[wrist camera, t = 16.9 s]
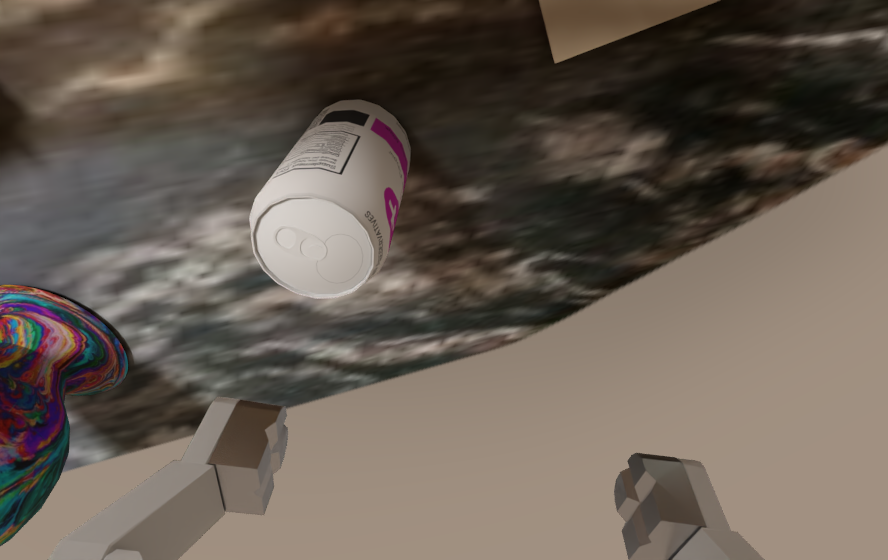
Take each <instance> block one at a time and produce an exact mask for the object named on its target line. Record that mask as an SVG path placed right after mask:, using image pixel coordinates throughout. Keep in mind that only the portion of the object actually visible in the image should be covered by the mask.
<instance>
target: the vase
mask: <svg viewBox="0 0 888 560" xmlns="http://www.w3.org/2000/svg"><path fill="white" fill-rule="evenodd" d="M127 371H128V360H127V356H126V353H125V351H124V349H123V347H122V345H121V343H120V342H119V340H118V339H117V338H116V336H115V335H114V334H113V333H112V332H111V331H110V330H109V328H108V327H107V326H105V325H104V324H103V323H102V322H101V321H100V320H99V319H97V318H96V317H95V316H93V315H92V314H91V313H89V312H88V311H86V310H85V309H83V308H81V307H80V306H78V305H76V304H74V303H73V302H71V301H69V300H66V299H64V298H62V297H60V296H57V295H55V294H52V293H49V292H46V291H43V290H40V289H36V288H31V287H26V286H19V285H0V546H1V545H3V544H4V543H6V542H7V541H9V540H10V539H11V538H12V537H13V536H14V535H15V534H16V533H17V532H18V531H19V530H20V529H21V528H22V527H23V526H24V525H25V524H26V523H27V522H28V521H29V520H30V519H31V518H32V517H33V516H34V515H35V514H36V513H37V512H38V511H39V510H40V509H41V508H42V506H43V504H44V503H45V501H46V499H47V498H48V496H49V495H50V493H51V491H52V490H53V488H54V486H55V485H56V483H57V481H58V480H59V478H60V475H61V473H62V470H63V467H64V465H65V462H66V459H67V457H68V453H69V435H70V426H69V421H68V417H67V413H66V409H65V405H64V400H65V395H77V396H82V395H92V394H97V393H102V392H106V391H109V390H111V389H113V388H115V387H117V386H118V385H119V384H121V382H122V381H123V380H124V379H125V377H126V374H127Z"/></svg>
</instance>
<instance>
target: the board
mask: <svg viewBox="0 0 888 560" xmlns="http://www.w3.org/2000/svg"><path fill="white" fill-rule="evenodd" d="M717 1H720V0H539V4H540V8H541V12H542V16H543V20H544V24H545V28H546V32H547V36H548V40H549V44H550V48H551V52H552V56H553V60H554V62H555V63H558V62H561V61H563V60H566V59H568V58H571V57H574V56H576V55H579V54H581V53H584V52H587V51H589V50H592V49H595V48H597V47H600V46H602V45H605V44H608V43H610V42H613V41H615V40H618V39H621V38H623V37H626V36H628V35H631V34H634V33H636V32H639V31H642V30H644V29H647V28H649V27H652V26H655V25H657V24H660V23H662V22H665V21H668V20H670V19H673V18H675V17H678V16H681V15H683V14H686V13H689V12H691V11H694V10H696V9H699V8H702V7H704V6H707V5H709V4H712V3H715V2H717Z"/></svg>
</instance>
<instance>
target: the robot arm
mask: <svg viewBox="0 0 888 560" xmlns="http://www.w3.org/2000/svg"><path fill="white" fill-rule="evenodd" d="M286 416H287V414H286V407H285V406H278V405H271V404H265V403H258V402H252V401H245V400H240V399H232V398H225V397H217V398H216V399H215V400H214V401H213V402H212V403H211V405H210V407H209V409H208V410H207V412H206V414H205V416H204V418H203V420H202V422H201V424H200V425H199V427H198V429H197V431H196V433H195V435H194V437H193V439H192V441H191V442H190V444H189V446H188V448H187V450H186V452H185V454H184V455H183V457H182V460H181V461H177V460H173V461H172V462H170V463H169V464H168V465H166V466H165V467H163V468H162V469H161V470H159V471H158V472H156V473H155V474H153V475H152V476H151V477H149V478H148V479H146V480H145V481H144V482H142V483H141V484H139V485H138V486H137V487H135V488H134V489H132V490H131V491H130V492H128V493H127V494H125V495H124V496H122V497H121V498H120V499H118V500H117V501H115V502H114V503H112V504H111V505H110V506H108V507H107V508H105V509H104V510H103V511H101V512H100V513H98V514H97V515H95V516H94V517H93V518H91V519H90V520H88V521H87V522H85V523H84V524H83V525H81V526H80V527H79V528H77V529H76V530H74V531H73V532H71V533H70V534H68V535H67V536H66V537H64V538H63V539H61V540H60V542H59V544H58V545H57V546H56V548H55V550H54V551H53V553H52V554H51V556H50V557H49V559H48V560H178V559H179V558H180V557H181V556H182V555H183V554H184V553H185V552H186V551H187V550H188V549H189V548H190V547H191V546H192V545H193V544H194V543H195V542H197V541H198V539H200V538H201V537H202V536H203V534H205V533H206V532H207V531H208V530H209V529H210V528H211V527H212V526H213V525H214V524H215V523H216V522H217V521H218V520H219V519H220V518H221V517H222V516H223V515H224V514H225V511H226V512H237V513H247V514H258V515H264V514H265V511H266V508H267V505H268V502H269V499H270V496H271V494H272V491H273V488H274V483H273V474H274V473H275V472H277V471H278V470H279V469H280V468H281V464H282V462H283V458H284V455H285V450H286V446H287V440H288V429H287V427H286V426H285V425H284V422H285V419H286ZM628 464H629V468H628V469H625V470H623V471H622V472H620V474H619V476H618V478H617V479H616V484H615V490H614V495H615V503H616V508H617V512H618V513H619V514H620V515H621V517H622V518H623V519H624V520H625V521H626V523H625V525H624V527H623V529H622V534H623V538H624V542H625V546H626V550H627V555H628V559H629V560H764V559H763V558H762V557H761V556H760V555H759V553H758V552H757V551H756V550H755V549H754V548H753V547H752V546H751V545H750V544H749V543H748V542H747V541H746V540H745V539H744V538H742V536H741V535H740V534H739V533H738V532H734V531H731V530H730V527H729V525H728V522H727V520H726V518H725V515H724V513H723V510H722V508H721V506H720V503H719V501H718V499H717V496H716V494H715V491H714V489H713V487H712V484H711V482H710V479H709V477H708V474H707V472H706V470H705V467H704V466H703V465H702V463H701V462H698V461H695V460H686V459H677V458H675V457H667V456H658V455H650V454H641V453H635V454H633V455H631V457H630V458H629V460H628Z"/></svg>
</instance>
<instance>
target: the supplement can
mask: <svg viewBox="0 0 888 560" xmlns="http://www.w3.org/2000/svg"><path fill="white" fill-rule="evenodd" d="M410 157H411V148H410V144H409V141H408V138H407V134H406V132H405V130H404V129H403V127H402V126H401V125H400V123H399V122H398V121H397V119H396V118H395V117H394V116H393V115H392V114H390V113H389V112H388V111H386V110H385V109H383V108H382V107H381V106H379V105H377V104H373V103H370V102H367V101H363V100H360V99H359V100H341V101H339V102H337V103H334V104H332V105H330V106H328V107H326V108H324V109H323V111H322V112H321V113H320V114H319V115H318V116H317V117H316V118H315V119H314V121H313V122H312V123H311V125H310V126H309V127H308V129H307V130H306V131H305V133H304V134H303V135H302V137H301V138H300V139H299V141H298V142H297V143H296V144H295V146H294V147H293V148H292V150H291V151H290V152H289V154H288V155H287V156H286V158H285V159H284V160H283V162H282V163H281V164H280V166H279V167H278V168H277V170H276V171H275V172H274V174H273V175H272V176H271V178H270V179H269V180H268V182H267V183H266V184H265V186H264V187H263V188H262V190H261V191H260V192H259V194H258V195H257V196H256V198H255V200H254V204H253V207H252V210H251V214H250V217H249V220H250V226H251V240H252V247H253V253H254V255H255V257H256V258H257V260H258V262H259V264H260V265H261V267H262V269H263V270H264V271H265V272H266V273H267V274H268V275H269V276H270V277H271V278H272V279H273V280H274V281H275V282H276V283H277V284H279V285H281V286H283V287H285V288H287V289H288V290H290V291H292V292H294V293H296V294H300V295H304V296H308V297H312V298H316V299H319V298H337V297H340V296H343V295H346V294H349V293H352V292H354V291H355V290H356V289H358V288H359V287H360V286H361V285H363V284H365V283H366V282H367V281H368V280H369V279H371V278H372V277H373V276H374V275H376V274H377V273H378V272H379V271H380V269H381V267H382V265H383V263H384V261H385V259H386V257H387V255H388V252H389V248H390V244H391V240H392V236H393V232H394V228H395V224H396V220H397V216H398V212H399V208H400V204H401V200H402V196H403V192H404V188H405V184H406V180H407V176H408V172H409V168H410Z"/></svg>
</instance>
